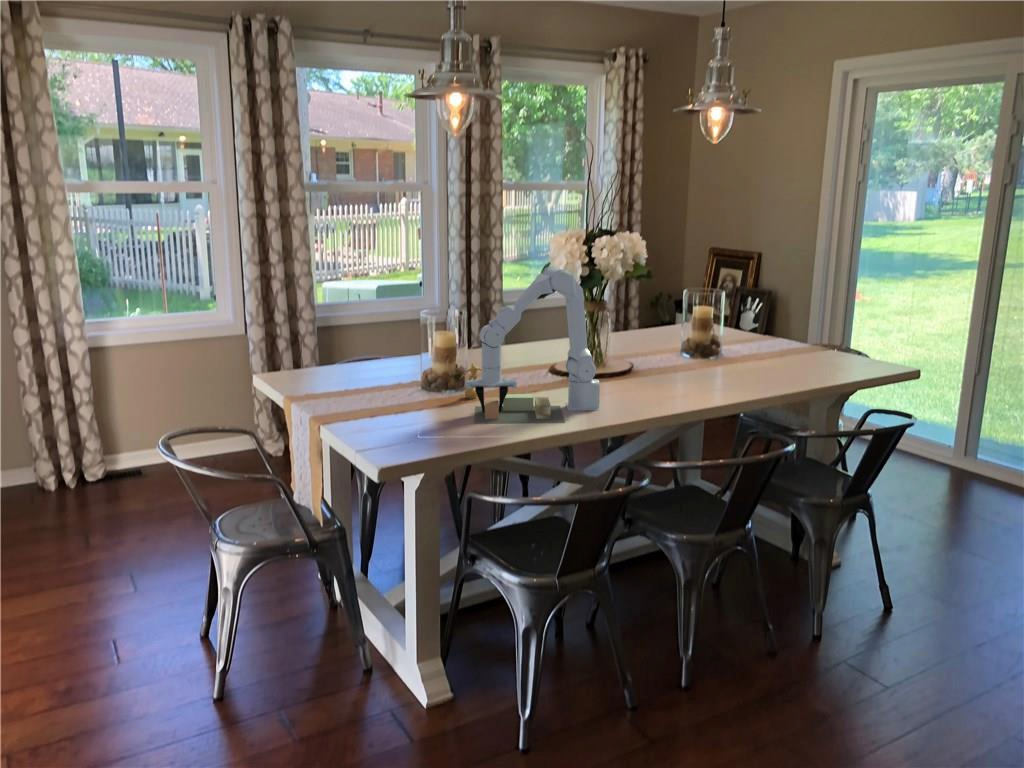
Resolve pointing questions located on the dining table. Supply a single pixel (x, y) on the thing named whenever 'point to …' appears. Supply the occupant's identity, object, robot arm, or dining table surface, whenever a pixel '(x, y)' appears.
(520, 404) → the sage brick
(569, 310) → the robot arm
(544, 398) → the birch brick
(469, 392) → the figurine
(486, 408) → the tan rectangular block
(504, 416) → the mat
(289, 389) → the dining table surface
